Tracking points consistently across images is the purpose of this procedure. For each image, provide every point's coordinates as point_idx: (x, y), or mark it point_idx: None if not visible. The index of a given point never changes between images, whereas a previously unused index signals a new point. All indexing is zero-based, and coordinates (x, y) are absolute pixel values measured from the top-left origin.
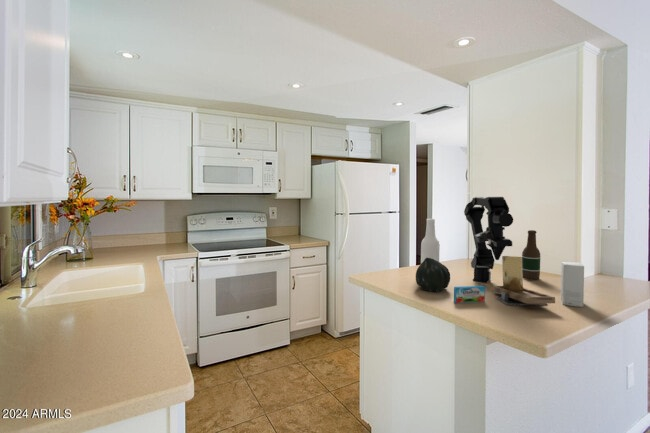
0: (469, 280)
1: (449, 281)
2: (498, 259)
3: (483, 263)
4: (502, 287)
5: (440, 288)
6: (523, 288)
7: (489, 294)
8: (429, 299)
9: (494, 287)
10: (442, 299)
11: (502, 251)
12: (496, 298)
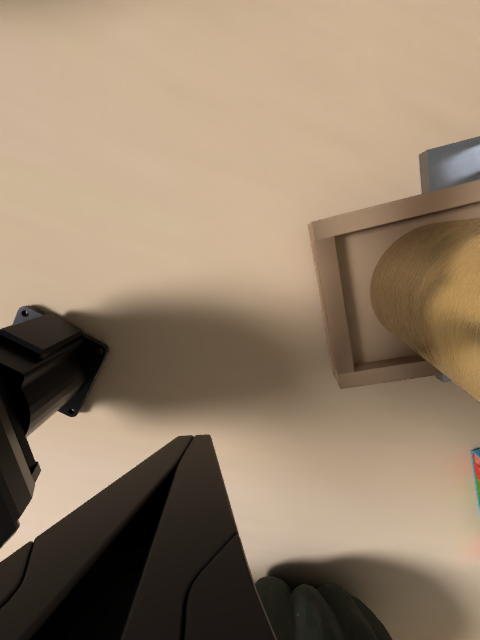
0: (76, 427)
1: (325, 608)
2: (211, 443)
3: (19, 462)
4: (346, 327)
5: (378, 620)
6: (441, 206)
7: (359, 390)
8: (453, 630)
9: (364, 382)
10: (452, 591)
11: (254, 595)
12: (437, 377)
